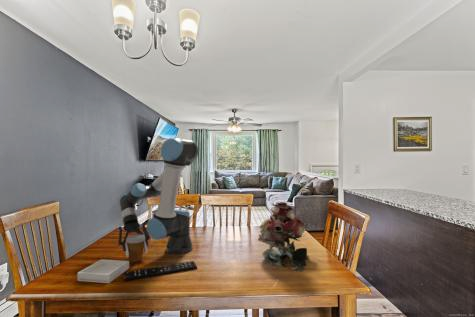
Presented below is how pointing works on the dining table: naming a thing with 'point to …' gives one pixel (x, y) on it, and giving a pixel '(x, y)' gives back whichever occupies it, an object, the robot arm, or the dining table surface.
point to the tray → (103, 271)
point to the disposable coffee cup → (135, 247)
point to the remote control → (159, 271)
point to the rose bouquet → (283, 237)
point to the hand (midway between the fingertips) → (137, 254)
